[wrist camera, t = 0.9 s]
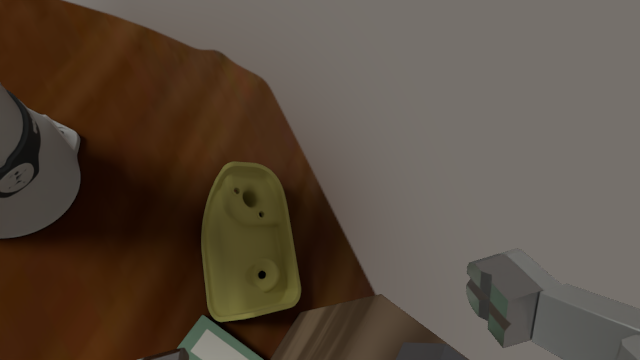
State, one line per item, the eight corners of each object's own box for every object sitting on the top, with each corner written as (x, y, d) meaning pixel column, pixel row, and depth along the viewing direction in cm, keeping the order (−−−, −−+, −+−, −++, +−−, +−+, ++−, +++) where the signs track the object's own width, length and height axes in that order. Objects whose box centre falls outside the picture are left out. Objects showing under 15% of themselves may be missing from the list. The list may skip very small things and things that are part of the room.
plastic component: (303, 304, 51) (240, 320, 44) (271, 308, 56) (209, 323, 49) (280, 165, 56) (220, 159, 49) (252, 180, 61) (193, 177, 54)
